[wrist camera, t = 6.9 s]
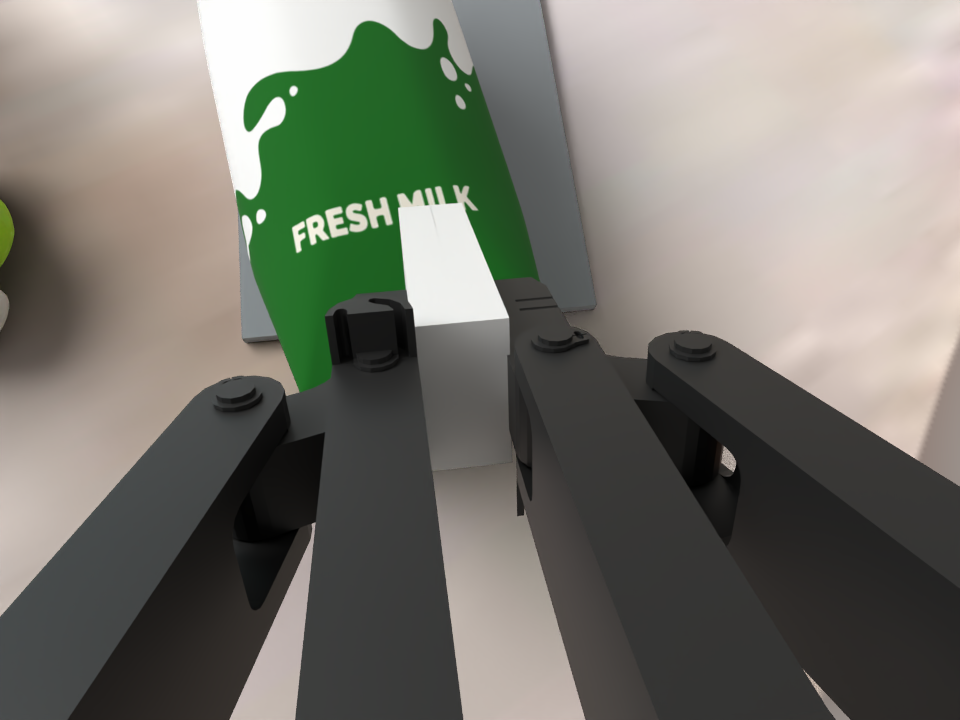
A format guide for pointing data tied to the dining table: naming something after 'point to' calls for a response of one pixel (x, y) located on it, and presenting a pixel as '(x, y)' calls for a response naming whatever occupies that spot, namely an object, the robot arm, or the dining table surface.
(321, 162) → the fresh milk carton
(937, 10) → the dining table surface
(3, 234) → the rainbow cloud toy
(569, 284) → the topple mat
